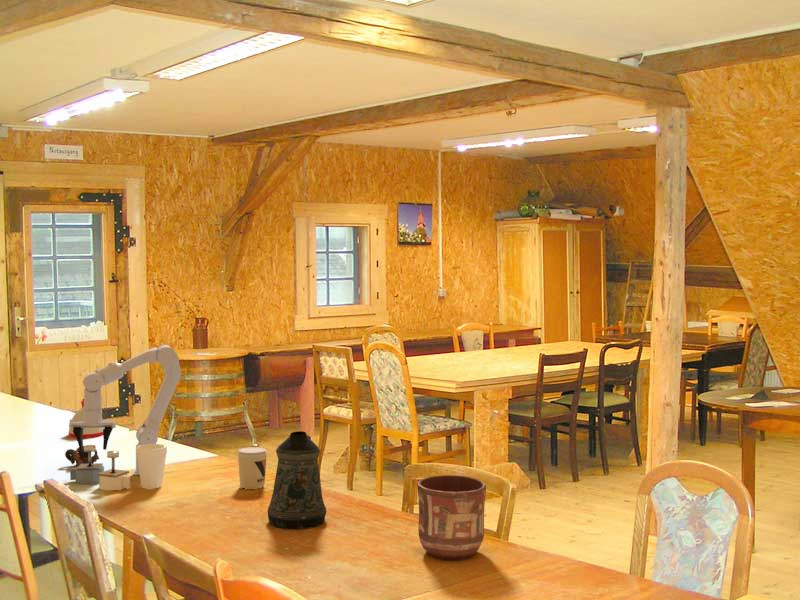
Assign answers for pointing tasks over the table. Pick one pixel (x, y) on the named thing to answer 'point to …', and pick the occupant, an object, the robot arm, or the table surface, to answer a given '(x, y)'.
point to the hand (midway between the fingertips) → (93, 449)
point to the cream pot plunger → (113, 458)
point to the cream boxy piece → (114, 480)
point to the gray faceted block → (86, 473)
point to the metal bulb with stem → (89, 452)
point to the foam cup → (151, 464)
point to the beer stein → (297, 485)
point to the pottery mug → (80, 456)
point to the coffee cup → (252, 467)
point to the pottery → (451, 515)
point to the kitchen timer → (86, 431)
